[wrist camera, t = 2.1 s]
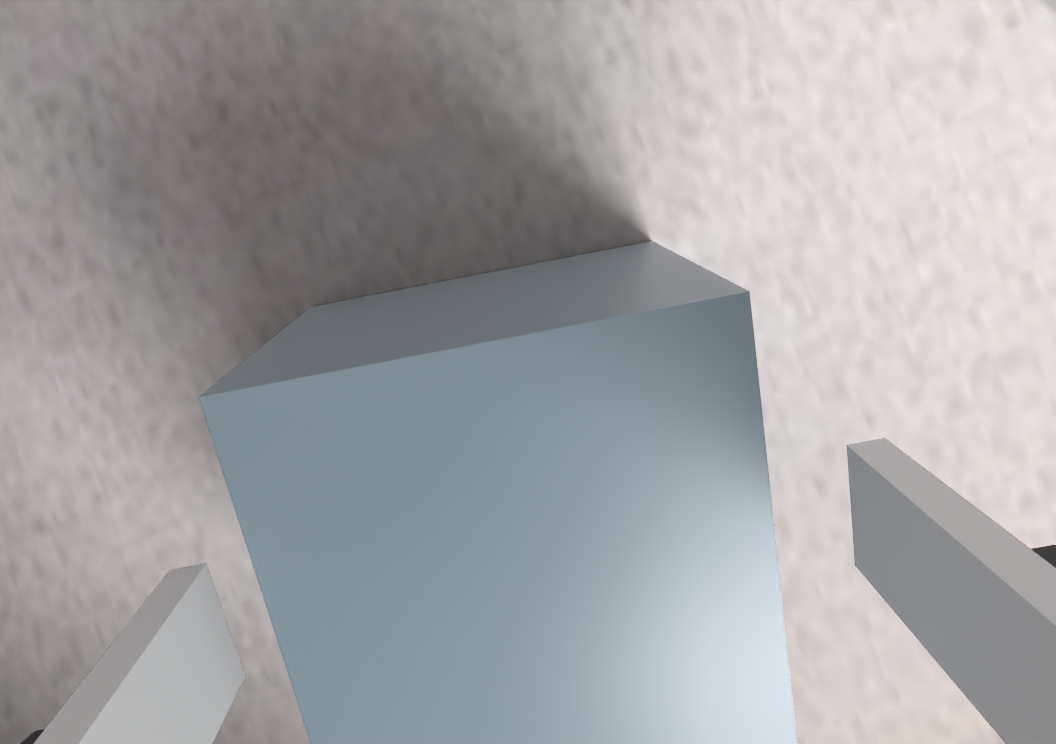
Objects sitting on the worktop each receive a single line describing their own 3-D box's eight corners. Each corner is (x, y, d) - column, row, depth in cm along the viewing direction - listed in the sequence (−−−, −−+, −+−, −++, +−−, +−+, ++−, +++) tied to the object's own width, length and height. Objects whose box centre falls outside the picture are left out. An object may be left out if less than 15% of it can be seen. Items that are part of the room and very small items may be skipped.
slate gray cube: (391, 604, 25) (339, 831, 17) (311, 306, 22) (198, 397, 14) (694, 547, 25) (797, 746, 16) (651, 241, 22) (749, 291, 14)
